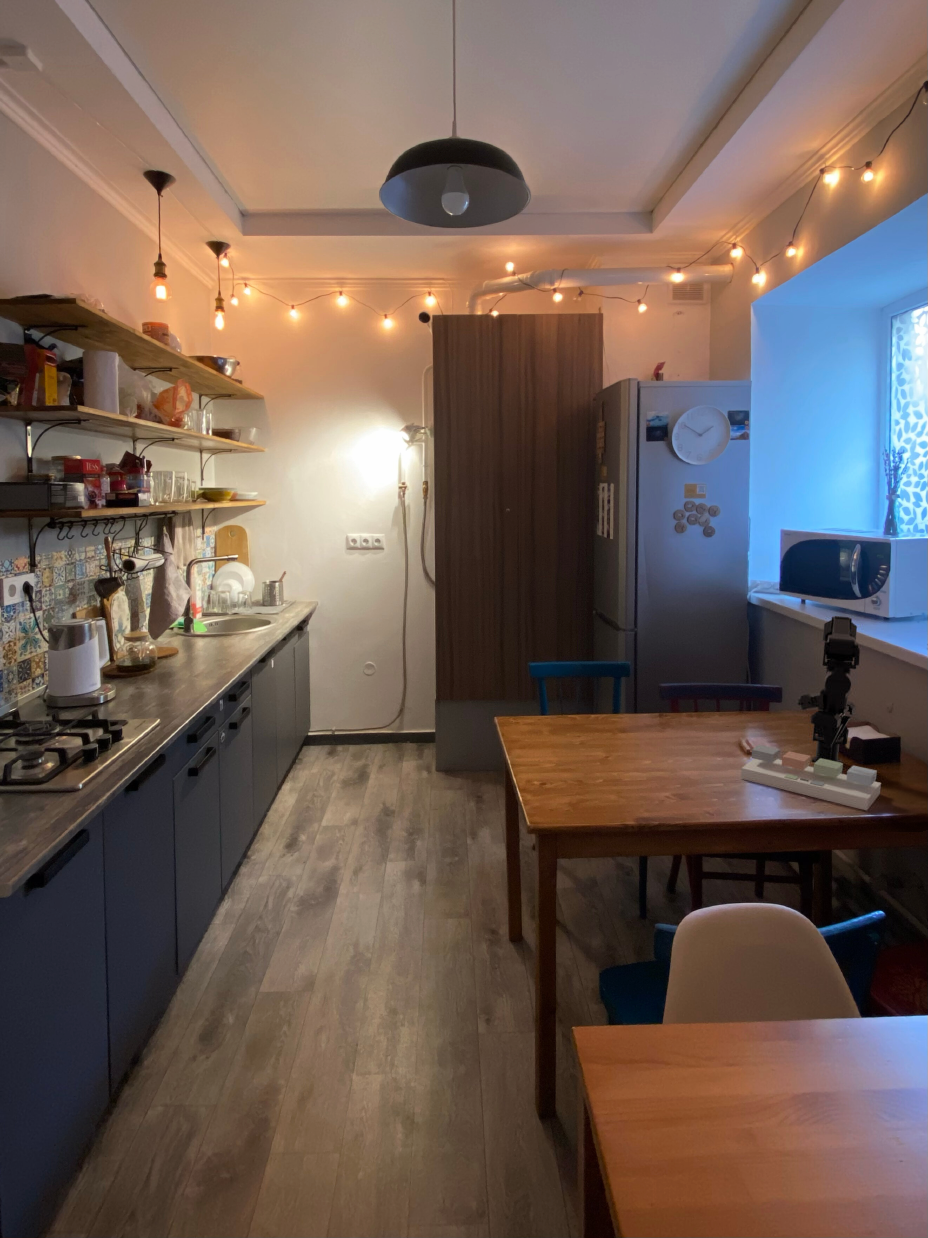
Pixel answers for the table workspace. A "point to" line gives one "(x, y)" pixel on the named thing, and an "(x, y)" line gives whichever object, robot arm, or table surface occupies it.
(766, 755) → the key slate
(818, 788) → the keypad base
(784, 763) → the key terracotta
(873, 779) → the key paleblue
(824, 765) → the key sage
